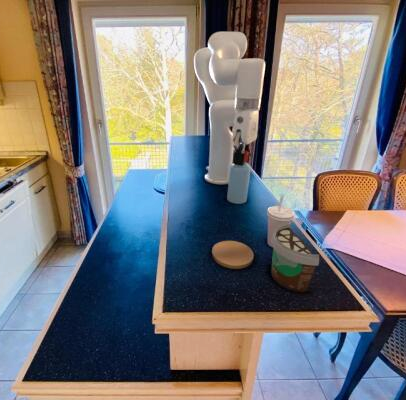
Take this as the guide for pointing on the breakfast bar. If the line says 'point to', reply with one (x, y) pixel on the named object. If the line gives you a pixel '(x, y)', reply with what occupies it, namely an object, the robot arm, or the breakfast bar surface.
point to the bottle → (238, 183)
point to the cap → (246, 155)
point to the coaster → (232, 254)
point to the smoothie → (278, 218)
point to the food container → (292, 260)
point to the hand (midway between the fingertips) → (241, 162)
